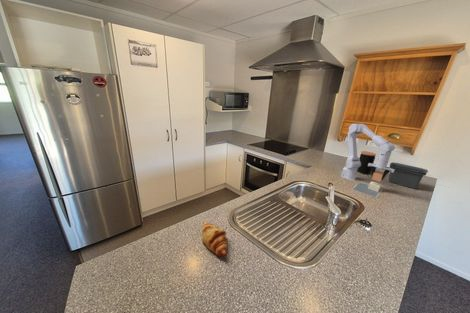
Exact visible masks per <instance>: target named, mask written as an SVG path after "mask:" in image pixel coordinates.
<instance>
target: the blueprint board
mask: <svg viewBox="0 0 470 313" xmlns="http://www.w3.org/2000/svg"><path fill="white" fill-rule="evenodd" d="M381 186H382V183H378V182H376V181H370V183H369V184H367V183H364V182H361V181H359V182H357V183H356V184H355V185H354V186H353V187H352V188H351V191H355V192H357V193H360V194H363V195H366V196H369V197H371V198H373V199H377V198H378V197H379V196H380V194H381V193H382V191H383V190H384V188H382V187H381Z"/></svg>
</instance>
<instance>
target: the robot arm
mask: <svg viewBox="0 0 470 313" xmlns="http://www.w3.org/2000/svg"><path fill="white" fill-rule="evenodd" d="M361 133H363V134H365V135H366V136H368V138H370V139H372V140H371V141H372V143H374V144H375V145H376V146H377V147H378V148H379V155H378V158H377V161H376V163H373V164H371V163H369V164H368V166H371V178H372V177H373V174H374V172H375V171H376V170H377V169H379V170H384V171H383V173H384V174H383V177H382V179H381V180H382V181H383V180H384V179H385V177H386V176H387V175H388V174H390V172H394V170H395V169H392V168H390V167H388V163H389V162H390V158H391V155H392V152H393V151H394V150H395V148H396V146H395V144H394V143H393V142H389V141H388V140H386V139H385V138H384V136H382V135H377V134H376V133H374V132H373V131H372V130H371V129H370V128H369V127H368V126H367V125H365V123H351V125H350V126H349V127H348V132H347V145H348V147H347V148H348V157H347V159H346V162H345V166H344V167H343V169H342V171H341V175H340V178H344V179H347V180H349V181H352V182H353V181H355V180H356V179H357V173H358V172H357V169H358V167H360V166H361V162H360V159H359V158H360V156H359V157H358V145H357V136H358V135H360V134H361Z"/></svg>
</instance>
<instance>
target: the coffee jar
mask: <svg viewBox="0 0 470 313" xmlns="http://www.w3.org/2000/svg"><path fill="white" fill-rule="evenodd" d="M376 156H377V154H376V153H374V152H371V151H364V150H363V151H361V152H360V156H359V159H360V162H361V166H360V167H358V169H357V173H360V174H362V175H369V174H372V172H371V166H368V164H369V163H371V164H375V163H374V162H375V159H376Z"/></svg>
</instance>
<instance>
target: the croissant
mask: <svg viewBox="0 0 470 313" xmlns="http://www.w3.org/2000/svg"><path fill="white" fill-rule="evenodd" d="M226 234H227V231H226V230H225V229H223V228H220V227H219V226H218V225H214V224H212V223H210V222H208V221H206V222H205V223H204V224H203V228H202V229H201V236H202V239H201V242H202V243H204V244H205V246H206V247H207V248H208V249H209V250H210V251H212V252H213V253H215V254H216V256H219V257H223V258H224V257H226V256H227V252H228V251H227V250H228V243H227V236H226Z"/></svg>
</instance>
